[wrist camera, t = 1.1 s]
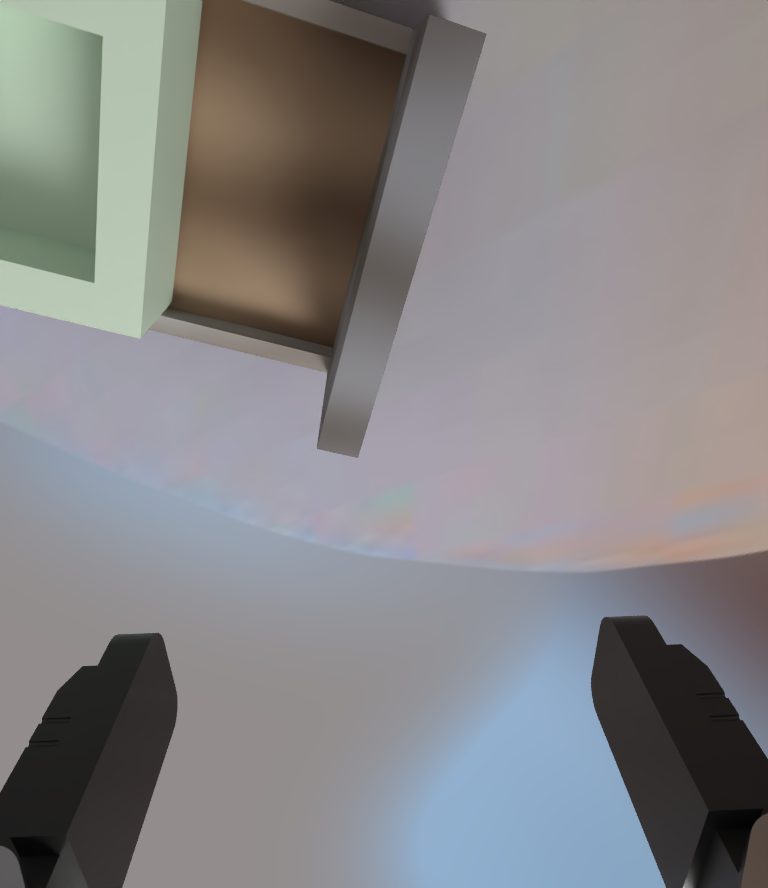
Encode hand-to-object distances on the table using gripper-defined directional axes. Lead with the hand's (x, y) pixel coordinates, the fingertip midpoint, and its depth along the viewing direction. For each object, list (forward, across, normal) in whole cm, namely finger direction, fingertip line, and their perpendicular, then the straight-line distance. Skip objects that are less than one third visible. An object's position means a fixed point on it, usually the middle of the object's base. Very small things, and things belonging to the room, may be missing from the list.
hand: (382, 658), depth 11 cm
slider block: (+19, +13, -9) cm, 25 cm away
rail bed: (+21, +9, -8) cm, 24 cm away
